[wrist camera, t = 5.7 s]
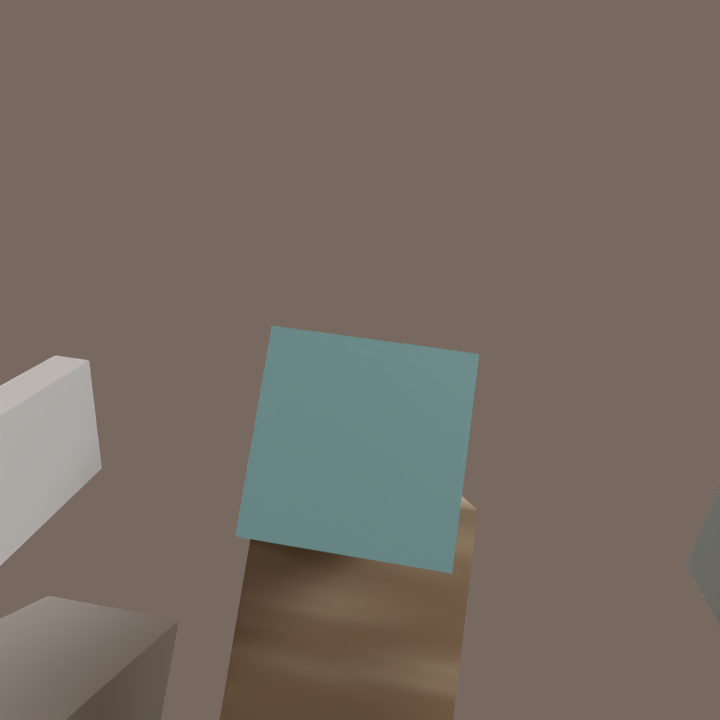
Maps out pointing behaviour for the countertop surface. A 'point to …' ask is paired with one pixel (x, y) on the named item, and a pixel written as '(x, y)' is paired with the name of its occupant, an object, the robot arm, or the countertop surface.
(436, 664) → the oak block
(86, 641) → the step block
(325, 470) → the teal block
